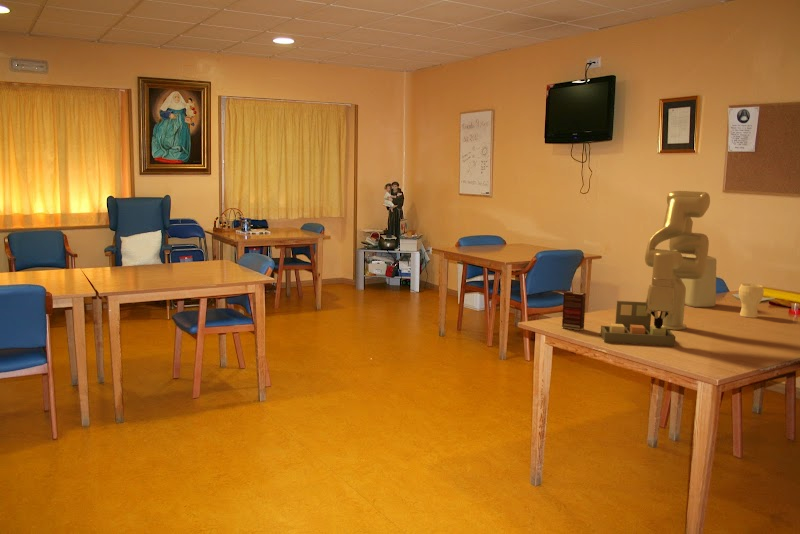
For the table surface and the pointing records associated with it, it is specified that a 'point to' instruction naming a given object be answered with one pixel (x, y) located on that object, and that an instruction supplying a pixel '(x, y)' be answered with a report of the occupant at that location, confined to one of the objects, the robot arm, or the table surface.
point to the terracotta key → (637, 329)
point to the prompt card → (632, 314)
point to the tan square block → (617, 328)
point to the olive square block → (657, 330)
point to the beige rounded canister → (702, 287)
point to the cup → (750, 299)
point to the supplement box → (573, 310)
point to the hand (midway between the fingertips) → (658, 327)
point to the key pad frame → (637, 337)
